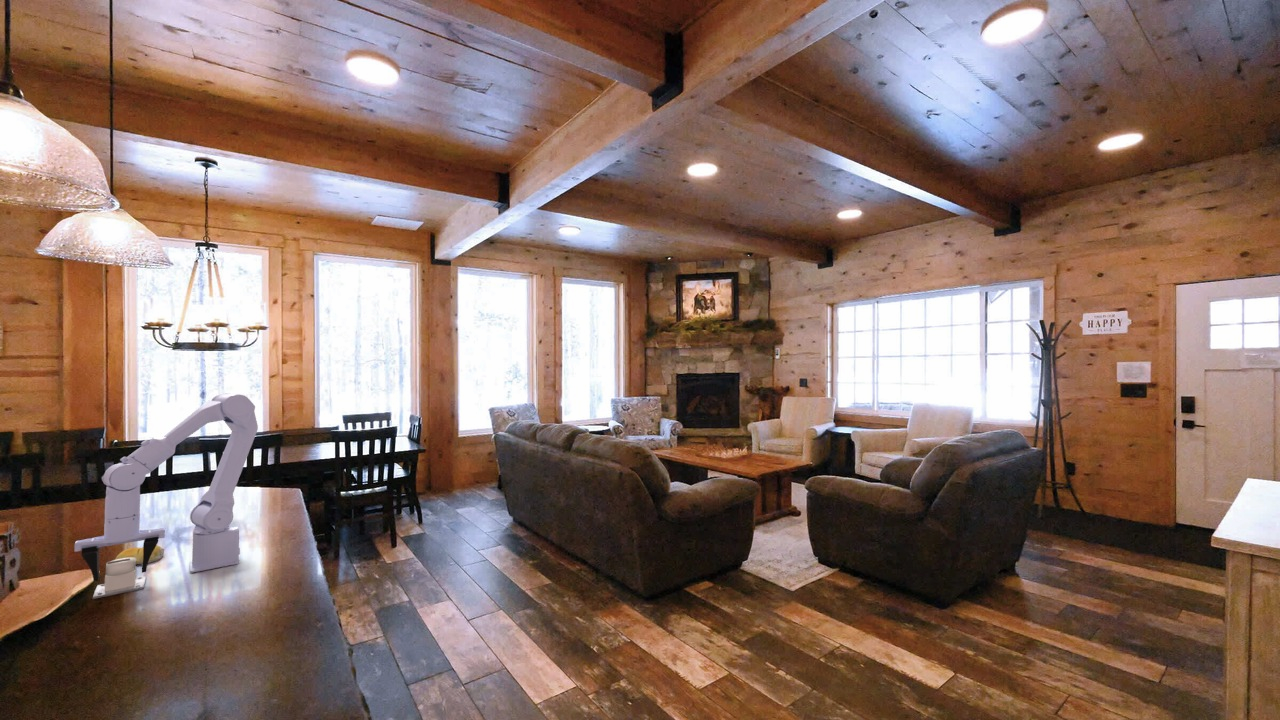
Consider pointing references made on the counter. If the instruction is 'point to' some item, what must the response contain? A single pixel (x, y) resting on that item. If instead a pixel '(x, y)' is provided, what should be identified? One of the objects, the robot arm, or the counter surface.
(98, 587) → the plate
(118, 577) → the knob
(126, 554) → the bread roll
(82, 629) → the counter surface
